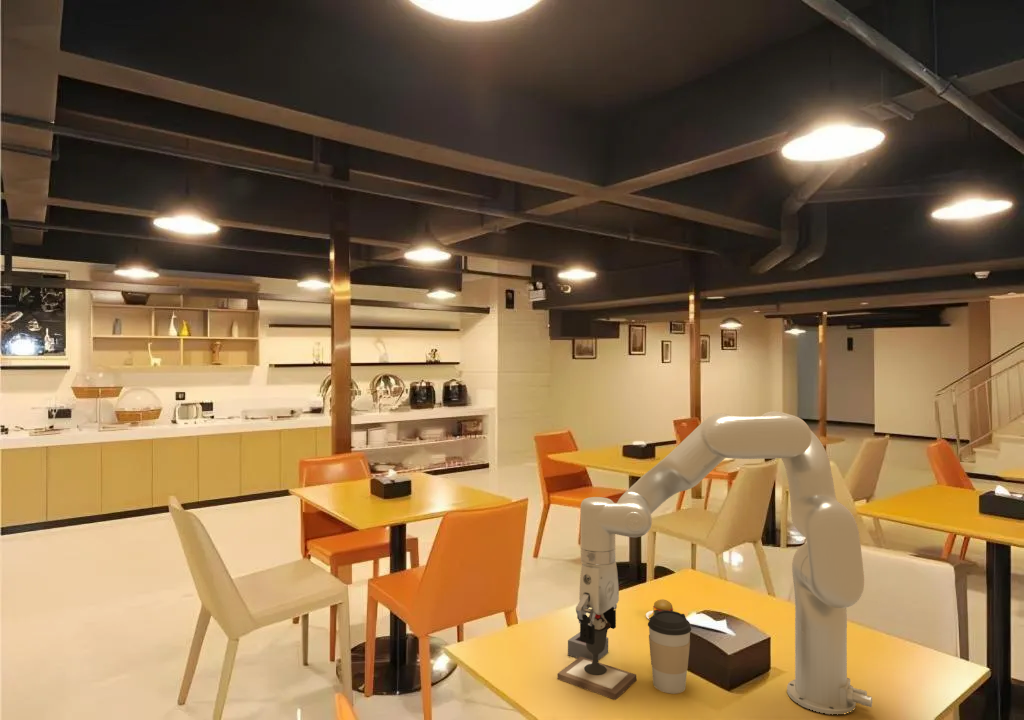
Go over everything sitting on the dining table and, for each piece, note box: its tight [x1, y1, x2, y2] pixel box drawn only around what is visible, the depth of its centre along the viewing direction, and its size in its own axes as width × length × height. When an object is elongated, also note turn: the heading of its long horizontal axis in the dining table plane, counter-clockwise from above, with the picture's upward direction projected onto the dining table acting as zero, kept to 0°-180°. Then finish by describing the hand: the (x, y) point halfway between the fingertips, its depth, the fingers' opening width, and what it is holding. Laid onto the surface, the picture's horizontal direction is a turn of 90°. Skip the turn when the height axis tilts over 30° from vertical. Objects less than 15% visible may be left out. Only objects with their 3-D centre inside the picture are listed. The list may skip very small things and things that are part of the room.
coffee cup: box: [647, 610, 692, 695], centre depth 131 cm, size 9×9×15 cm
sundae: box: [584, 613, 611, 675], centre depth 134 cm, size 7×7×15 cm
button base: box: [567, 631, 609, 661], centre depth 145 cm, size 7×7×4 cm
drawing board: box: [556, 656, 638, 701], centre depth 132 cm, size 14×10×1 cm
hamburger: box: [645, 598, 674, 620], centre depth 166 cm, size 12×12×6 cm
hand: (598, 634), depth 133 cm, fingers open, 9 cm apart
